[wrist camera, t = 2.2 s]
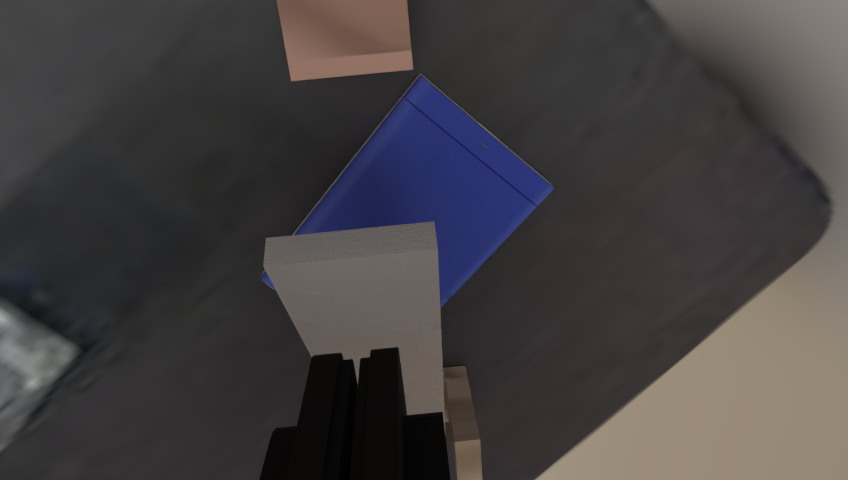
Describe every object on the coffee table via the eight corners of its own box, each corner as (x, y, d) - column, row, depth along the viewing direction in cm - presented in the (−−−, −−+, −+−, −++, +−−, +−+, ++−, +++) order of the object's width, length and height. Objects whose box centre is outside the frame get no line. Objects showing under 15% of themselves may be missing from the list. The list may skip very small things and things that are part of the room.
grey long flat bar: (443, 432, 28) (446, 460, 28) (367, 440, 28) (368, 469, 28) (433, 211, 13) (439, 259, 12) (266, 227, 13) (261, 277, 12)
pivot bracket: (468, 407, 32) (482, 485, 27) (344, 420, 32) (336, 501, 27) (465, 365, 31) (480, 439, 26) (336, 378, 30) (326, 455, 25)
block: (407, 50, 23) (413, 69, 18) (314, 59, 23) (291, 81, 18) (398, -44, 22) (402, -55, 16) (299, -35, 22) (268, -43, 16)
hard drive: (391, 363, 29) (556, 190, 25) (258, 281, 26) (421, 75, 23) (391, 346, 30) (547, 179, 27) (265, 266, 28) (419, 70, 24)
